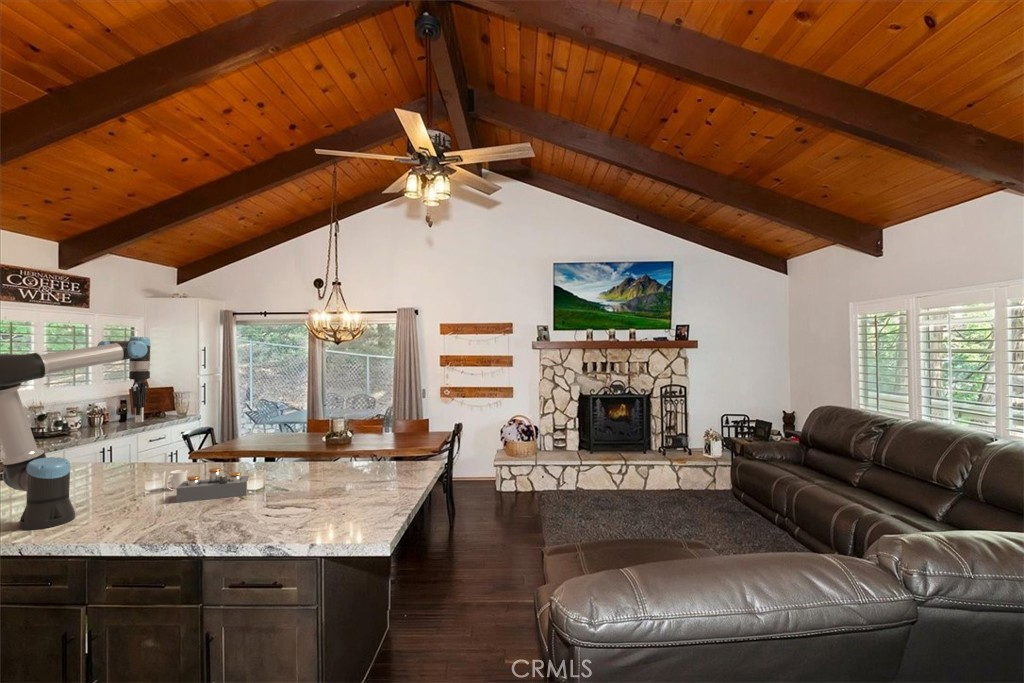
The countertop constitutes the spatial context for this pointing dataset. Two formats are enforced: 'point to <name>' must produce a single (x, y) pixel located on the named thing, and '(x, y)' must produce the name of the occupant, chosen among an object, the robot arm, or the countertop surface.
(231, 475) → the knob far
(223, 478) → the dial
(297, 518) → the countertop surface
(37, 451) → the robot arm
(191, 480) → the knob near
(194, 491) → the panel
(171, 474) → the cup
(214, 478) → the knob mid
